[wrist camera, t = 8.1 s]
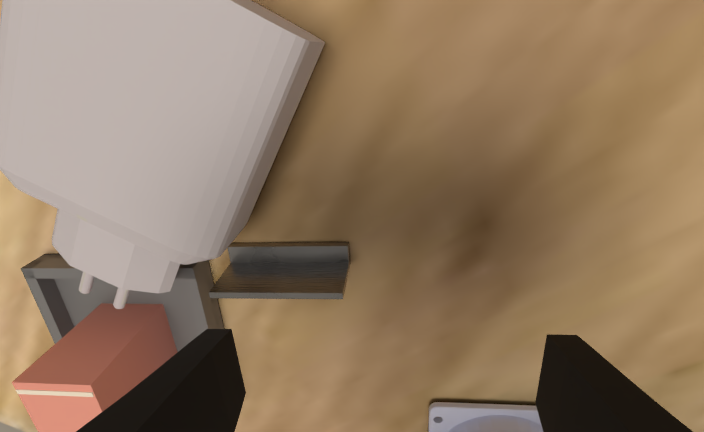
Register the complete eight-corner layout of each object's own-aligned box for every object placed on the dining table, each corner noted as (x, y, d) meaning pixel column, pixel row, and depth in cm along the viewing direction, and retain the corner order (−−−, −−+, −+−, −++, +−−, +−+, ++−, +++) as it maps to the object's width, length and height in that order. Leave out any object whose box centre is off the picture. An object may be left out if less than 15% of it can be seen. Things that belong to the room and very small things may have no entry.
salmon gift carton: (180, 364, 23) (120, 455, 18) (123, 362, 23) (47, 451, 18) (163, 304, 21) (90, 385, 16) (101, 303, 21) (11, 383, 16)
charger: (49, 234, 21) (109, -80, 15) (212, 309, 22) (329, 41, 16) (-43, 283, 16) (-8, -133, 10) (166, 375, 17) (304, 38, 11)
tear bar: (350, 263, 20) (342, 299, 17) (234, 263, 20) (209, 298, 18) (348, 242, 19) (340, 275, 16) (230, 243, 20) (204, 275, 17)
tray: (240, 398, 24) (231, 419, 23) (103, 393, 25) (86, 413, 24) (206, 253, 20) (192, 268, 19) (44, 254, 21) (21, 268, 20)
